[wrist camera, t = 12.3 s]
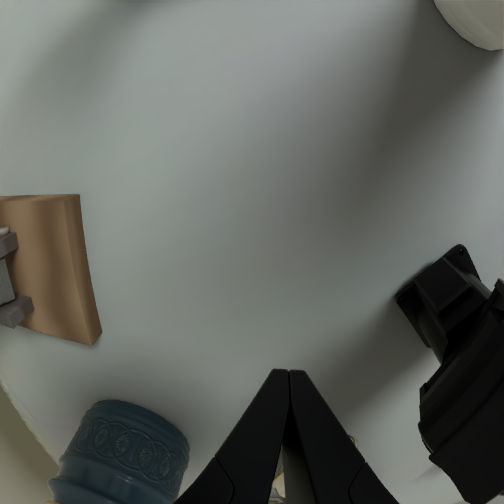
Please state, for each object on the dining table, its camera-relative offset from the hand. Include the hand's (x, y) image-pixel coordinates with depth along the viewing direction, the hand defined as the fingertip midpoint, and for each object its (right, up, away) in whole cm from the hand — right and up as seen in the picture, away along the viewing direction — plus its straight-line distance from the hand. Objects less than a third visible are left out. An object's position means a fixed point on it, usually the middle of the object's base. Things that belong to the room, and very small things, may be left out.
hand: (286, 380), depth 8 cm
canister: (-14, -18, +23) cm, 32 cm away
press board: (-21, +3, +15) cm, 26 cm away
